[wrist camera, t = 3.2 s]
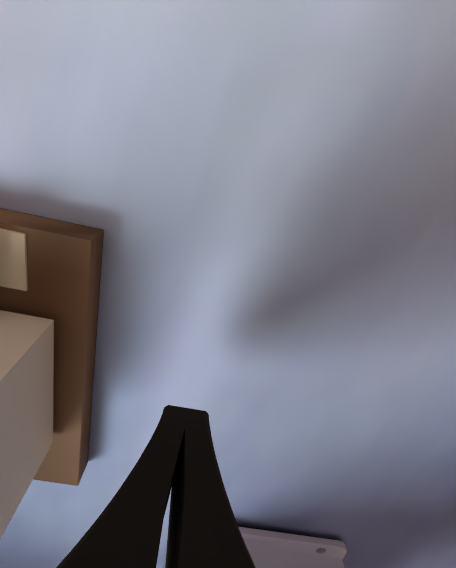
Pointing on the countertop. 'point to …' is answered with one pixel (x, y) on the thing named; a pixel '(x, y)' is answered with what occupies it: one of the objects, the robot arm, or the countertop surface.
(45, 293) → the frame
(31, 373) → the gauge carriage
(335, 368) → the countertop surface
